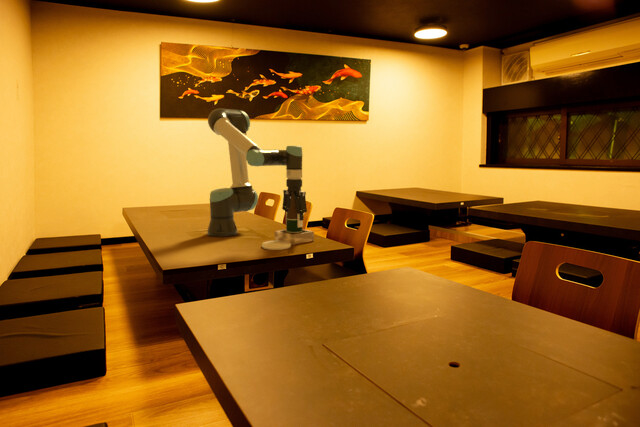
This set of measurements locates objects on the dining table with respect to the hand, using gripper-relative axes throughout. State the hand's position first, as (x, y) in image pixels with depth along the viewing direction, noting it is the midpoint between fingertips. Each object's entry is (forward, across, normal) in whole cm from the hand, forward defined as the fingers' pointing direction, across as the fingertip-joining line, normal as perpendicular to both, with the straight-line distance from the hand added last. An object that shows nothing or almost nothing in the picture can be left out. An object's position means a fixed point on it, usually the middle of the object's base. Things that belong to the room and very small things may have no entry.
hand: (294, 225), depth 212 cm
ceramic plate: (+7, +5, -15) cm, 17 cm away
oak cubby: (+7, 0, 0) cm, 7 cm away
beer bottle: (+7, 0, 0) cm, 7 cm away
